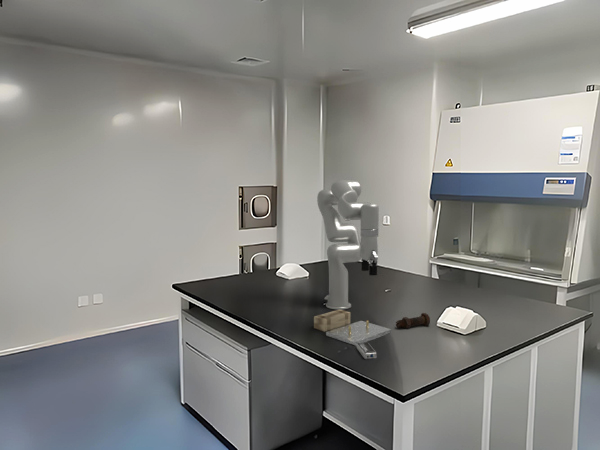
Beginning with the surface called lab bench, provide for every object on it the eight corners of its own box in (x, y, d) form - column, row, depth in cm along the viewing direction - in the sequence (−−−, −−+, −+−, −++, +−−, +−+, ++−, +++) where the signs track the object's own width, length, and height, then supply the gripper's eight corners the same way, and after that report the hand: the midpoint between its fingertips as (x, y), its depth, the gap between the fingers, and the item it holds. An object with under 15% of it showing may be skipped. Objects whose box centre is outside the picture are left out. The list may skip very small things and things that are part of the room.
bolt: (396, 332, 196) (425, 327, 201) (401, 330, 191) (431, 324, 197) (392, 319, 198) (421, 314, 203) (397, 316, 193) (427, 311, 199)
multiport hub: (367, 348, 174) (367, 342, 173) (376, 359, 163) (376, 352, 163) (356, 348, 173) (356, 342, 173) (364, 360, 162) (364, 353, 162)
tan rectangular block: (314, 327, 196) (313, 316, 196) (339, 320, 207) (339, 309, 206) (324, 331, 192) (324, 319, 191) (350, 323, 202) (350, 312, 202)
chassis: (326, 335, 187) (326, 324, 186) (361, 323, 201) (361, 313, 201) (355, 345, 175) (355, 334, 174) (390, 332, 190) (391, 322, 189)
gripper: (354, 231, 201) (354, 269, 203) (367, 235, 185) (367, 277, 186) (370, 230, 203) (370, 268, 205) (385, 235, 186) (384, 276, 188)
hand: (369, 272), depth 195 cm, fingers open, 9 cm apart
